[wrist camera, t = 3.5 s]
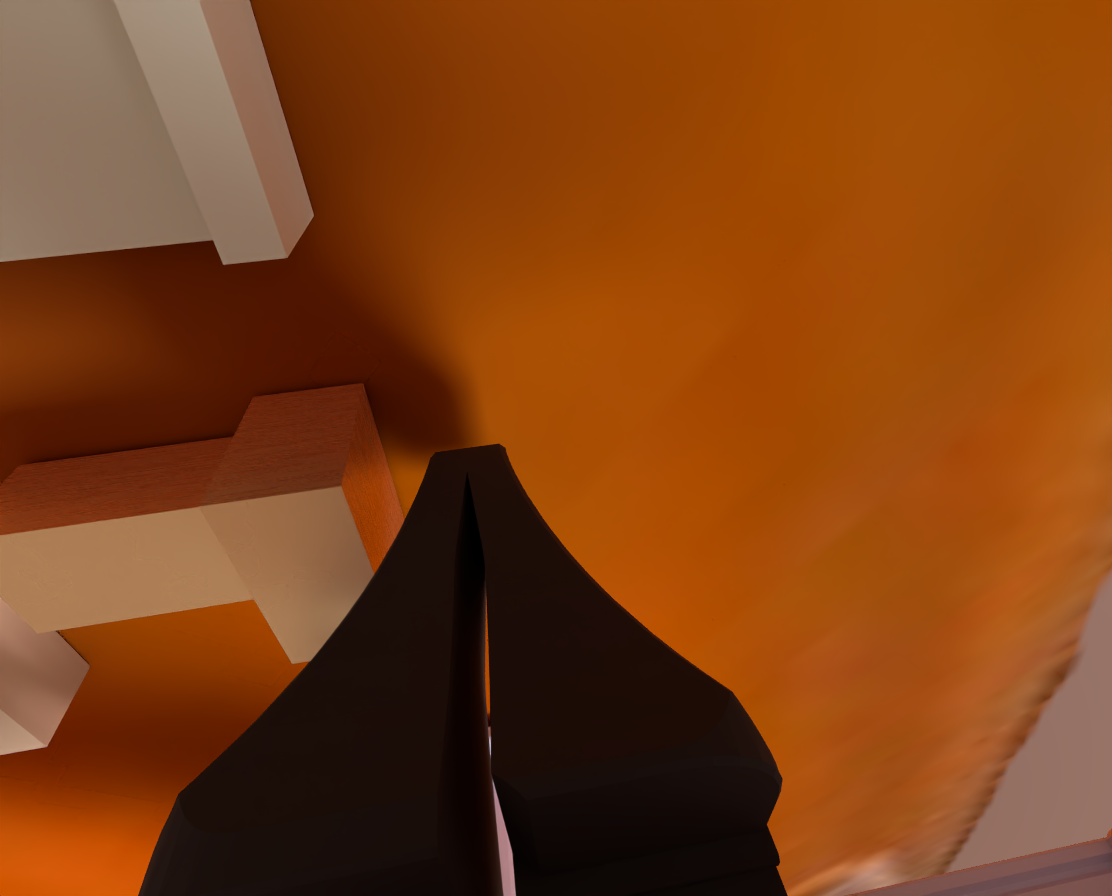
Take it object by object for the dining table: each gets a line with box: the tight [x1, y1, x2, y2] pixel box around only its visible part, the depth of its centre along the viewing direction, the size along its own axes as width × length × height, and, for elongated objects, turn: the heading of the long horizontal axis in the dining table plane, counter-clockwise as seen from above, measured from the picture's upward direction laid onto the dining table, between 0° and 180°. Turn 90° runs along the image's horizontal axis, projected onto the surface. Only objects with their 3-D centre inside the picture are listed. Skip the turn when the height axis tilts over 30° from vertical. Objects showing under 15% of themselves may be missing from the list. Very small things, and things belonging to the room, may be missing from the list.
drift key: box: [0, 383, 404, 664], centre depth 11 cm, size 4×6×3 cm, turn 93°
